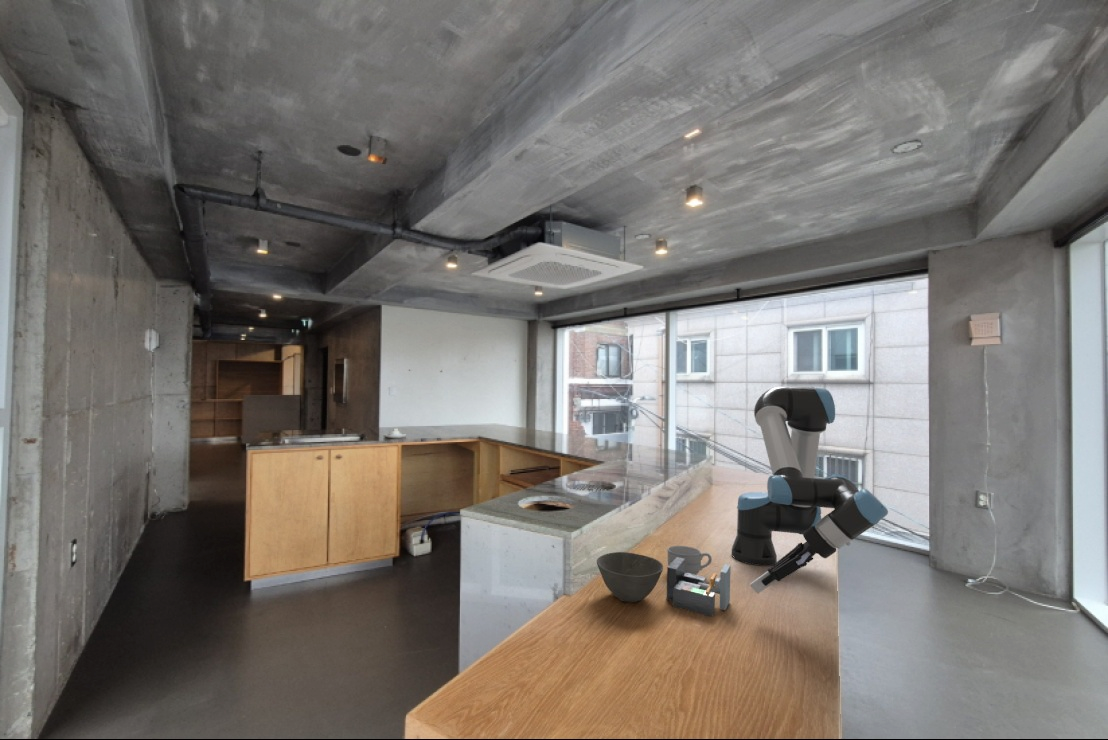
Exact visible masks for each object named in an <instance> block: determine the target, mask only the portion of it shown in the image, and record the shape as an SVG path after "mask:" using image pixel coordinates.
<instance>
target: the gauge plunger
mask: <svg viewBox="0 0 1108 740" xmlns="http://www.w3.org/2000/svg"><path fill="white" fill-rule="evenodd" d="M719 574H720V575H719V577H716V578H715V585H714V586H713V587H712V588H711V590H710V592H714V593H715V594H718V595H719V610H723V611H726V610H727V607H728V605H729V603H730V601H731V564H727V563H724V565H723V567H722V569H721V570H720V573H719ZM698 585H701V589H702V590H707V589H708V587H709V585H710V584H708V583H706V584H704V583H700V582H699V583H698Z"/></svg>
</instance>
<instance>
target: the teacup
mask: <svg viewBox="0 0 1108 740" xmlns="http://www.w3.org/2000/svg"><path fill="white" fill-rule="evenodd" d="M666 551H667V565H668V566H669V565H670V564H671V563H672V562H673V561H674V560H675V559H676V558H677V557H679V558H684V559H685V573H690V574H695V575H698V574H699V573H700V572H701V571H703V569H705V568H707V567H708V566H709V565H710V564H712V559H713V558H712V556H711V554H710V553H708V552H705V551H704V552H702V551H701V550H700V549H698V548H695V547H692V546H686V545H672V546H669V547H667V548H666ZM704 557H708V560H707V562H705V563H702V561H703V558H704ZM668 566H667V567H668Z"/></svg>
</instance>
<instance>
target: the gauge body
mask: <svg viewBox="0 0 1108 740" xmlns="http://www.w3.org/2000/svg"><path fill="white" fill-rule="evenodd" d="M666 570H667V571H666V600H668V601H672V607H673V608H677V609H680V608H682V609H681V610H684V609H685V611H688V610H689V611H688V612H691V613H692V612H693V613H695V612H696V613H695V614H700V615H703V616H708V617H711V618H713V615H714V614H715V613H716V612H715V611H716V609H715V608H716V607H715V606H716V593H714V592H709V593H708V594H706V590H702V589H701V585H698V583H699V582H700V583H704V584H707V576H703V575H699V574H696V575H695V574H690V573H685V559H684V558H679V557H677V558H676V559H675V560H674V561H673V562H672V563H671V564H670V565H669V566H667V567H666Z"/></svg>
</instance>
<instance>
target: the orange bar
mask: <svg viewBox="0 0 1108 740" xmlns="http://www.w3.org/2000/svg"><path fill="white" fill-rule="evenodd" d="M717 574H718V573H716V572H713V573H712V575H711V577H710V578H709V582H710V584H709V587H708V589H707V590H706V594H708V593H709V592H710V590H711V588H712V587H713V586H715V580H716V578H717V576H718V575H717Z"/></svg>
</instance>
